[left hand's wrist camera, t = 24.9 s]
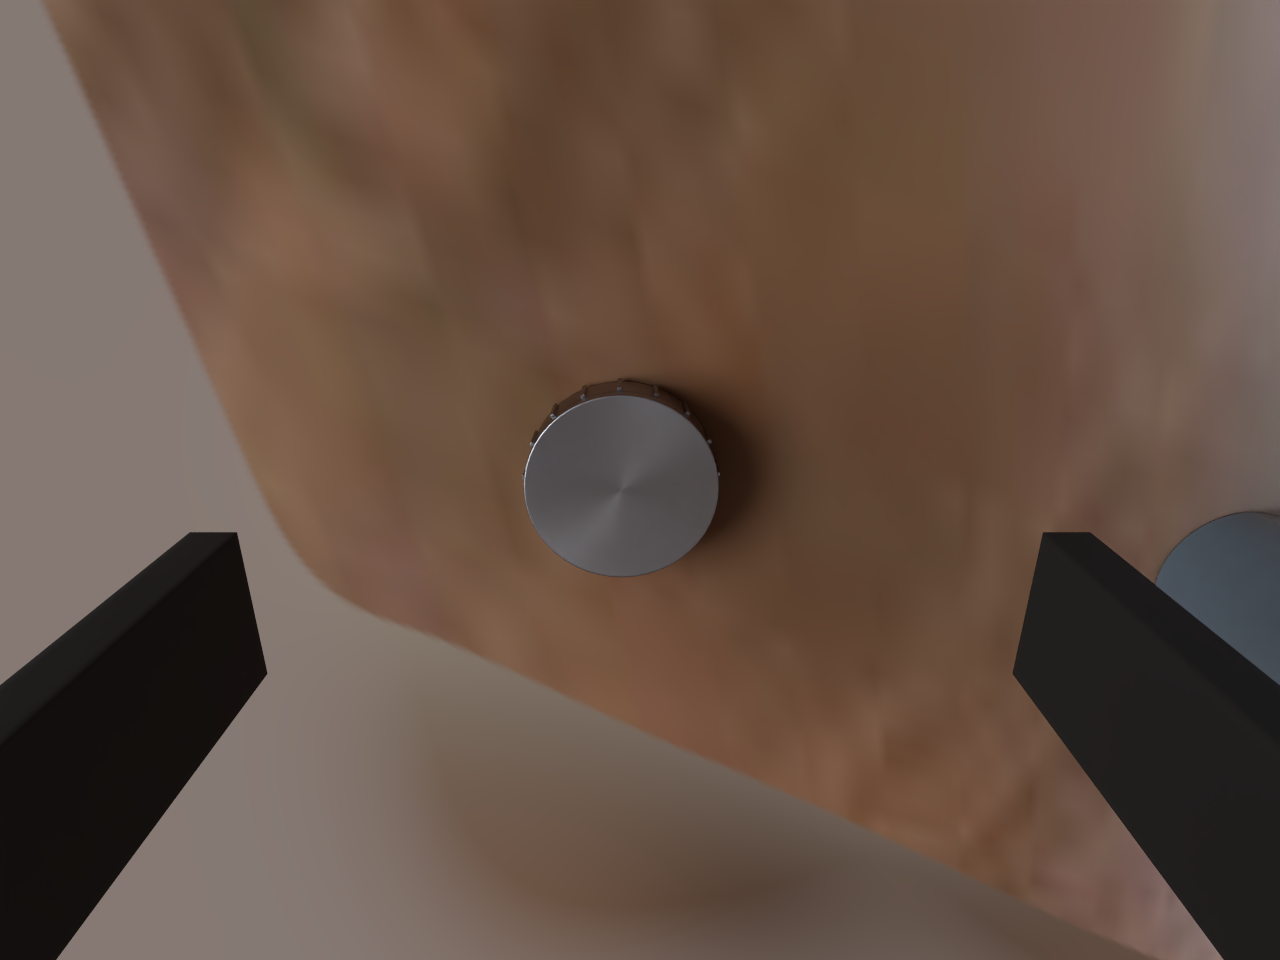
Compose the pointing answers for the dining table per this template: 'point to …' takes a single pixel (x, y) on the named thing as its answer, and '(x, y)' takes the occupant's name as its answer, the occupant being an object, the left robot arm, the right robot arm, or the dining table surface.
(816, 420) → the dining table surface
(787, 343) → the dining table surface
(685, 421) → the lid
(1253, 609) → the dark grey cylinder
